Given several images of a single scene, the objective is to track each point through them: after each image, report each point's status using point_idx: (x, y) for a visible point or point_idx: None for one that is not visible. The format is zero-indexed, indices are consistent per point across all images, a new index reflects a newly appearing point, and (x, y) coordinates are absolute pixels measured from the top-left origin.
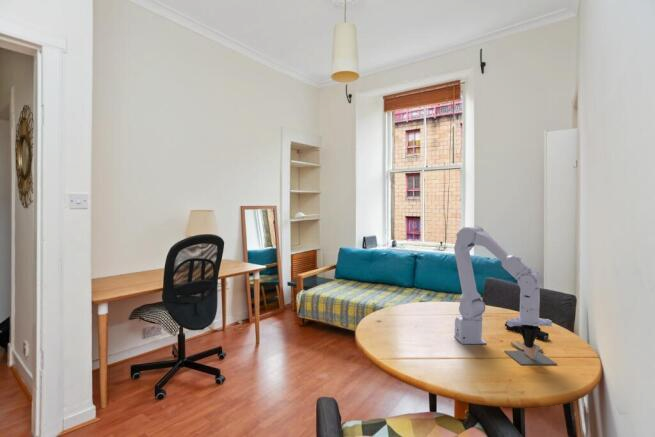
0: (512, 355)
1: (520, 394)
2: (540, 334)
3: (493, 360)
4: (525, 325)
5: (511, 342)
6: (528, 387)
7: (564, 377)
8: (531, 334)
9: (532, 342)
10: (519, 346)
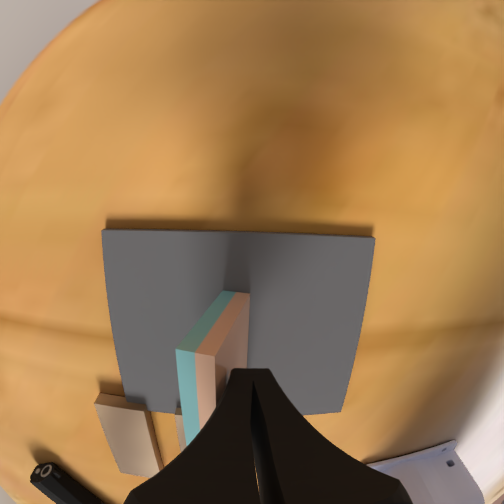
0: (340, 359)
1: (496, 6)
2: (59, 488)
3: (467, 301)
4: None
5: None
6: (459, 19)
7: (186, 50)
8: (283, 462)
9: (240, 394)
10: None
